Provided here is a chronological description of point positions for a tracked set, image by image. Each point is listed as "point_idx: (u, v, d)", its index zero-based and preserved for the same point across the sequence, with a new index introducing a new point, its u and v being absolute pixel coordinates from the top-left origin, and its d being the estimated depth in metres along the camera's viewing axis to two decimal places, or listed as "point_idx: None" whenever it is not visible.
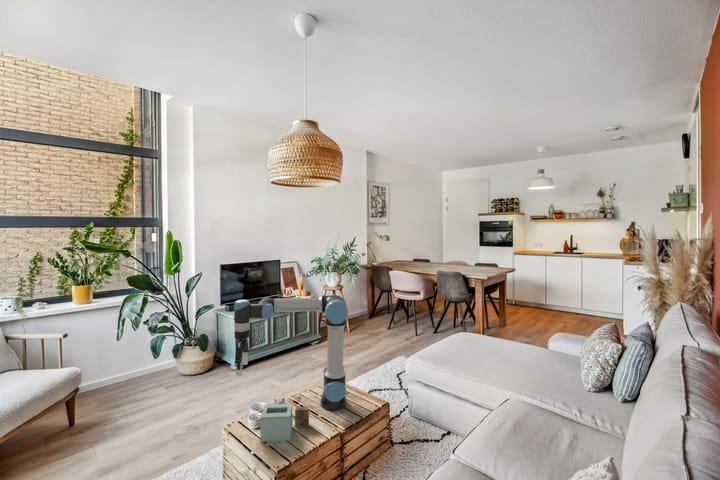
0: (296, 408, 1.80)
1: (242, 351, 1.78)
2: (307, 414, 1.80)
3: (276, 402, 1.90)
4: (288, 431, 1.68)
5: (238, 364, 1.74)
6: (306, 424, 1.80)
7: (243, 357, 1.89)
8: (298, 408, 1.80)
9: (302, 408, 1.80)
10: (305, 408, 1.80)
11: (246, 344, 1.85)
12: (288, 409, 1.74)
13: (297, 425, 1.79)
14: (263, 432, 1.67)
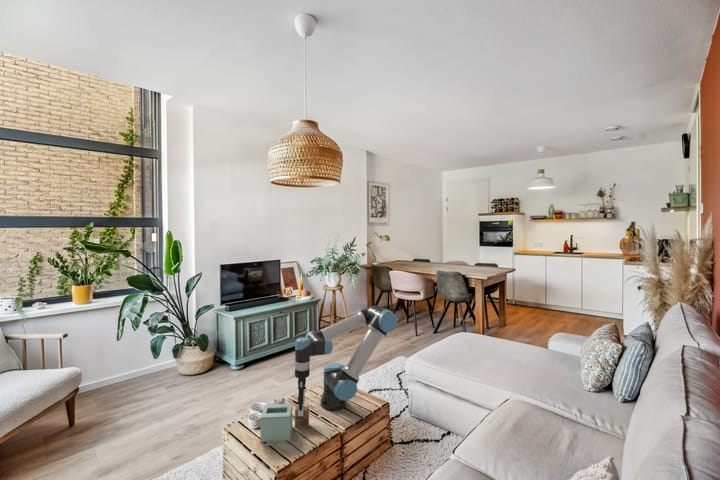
0: (296, 408, 1.80)
1: None
2: (307, 414, 1.80)
3: (276, 402, 1.90)
4: (288, 431, 1.68)
5: (300, 405, 1.72)
6: (306, 424, 1.80)
7: None
8: None
9: None
10: (305, 408, 1.80)
11: None
12: (288, 409, 1.74)
13: (297, 425, 1.79)
14: (263, 432, 1.67)
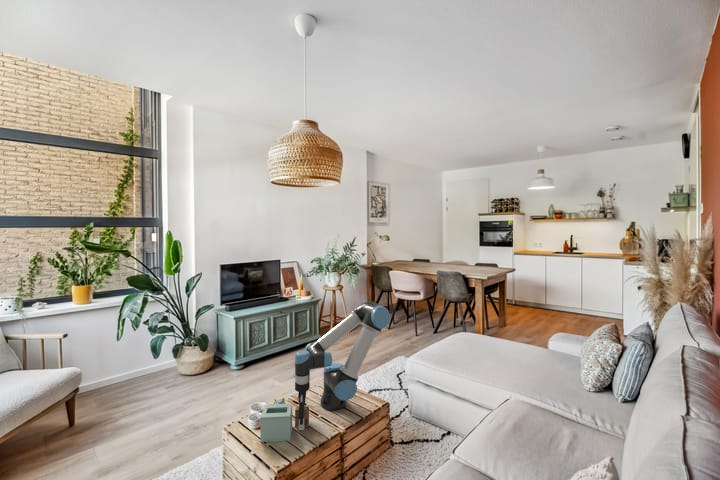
0: (296, 408, 1.80)
1: None
2: (307, 414, 1.80)
3: (276, 402, 1.90)
4: (288, 431, 1.68)
5: (301, 419, 1.74)
6: (306, 424, 1.80)
7: None
8: (298, 408, 1.80)
9: None
10: (305, 408, 1.80)
11: (305, 396, 1.83)
12: (288, 409, 1.74)
13: (297, 425, 1.79)
14: (263, 432, 1.67)
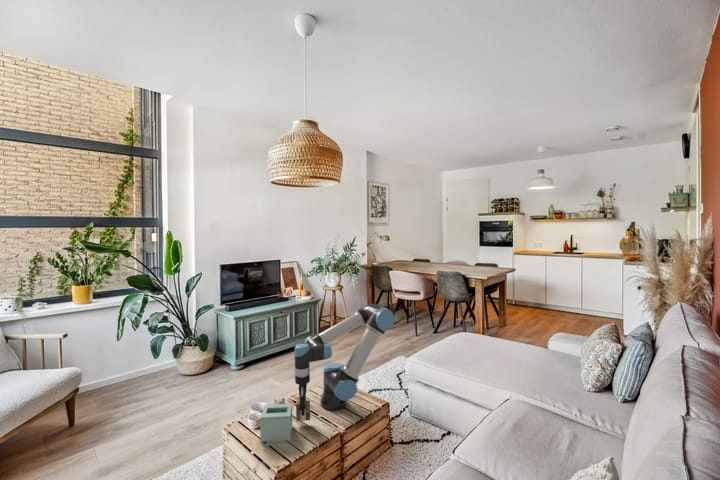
0: (297, 402, 1.80)
1: None
2: (308, 408, 1.80)
3: (276, 402, 1.90)
4: (288, 431, 1.68)
5: (302, 410, 1.77)
6: (307, 418, 1.80)
7: None
8: (299, 402, 1.80)
9: None
10: (306, 402, 1.80)
11: None
12: (288, 409, 1.74)
13: (298, 419, 1.79)
14: (263, 432, 1.67)
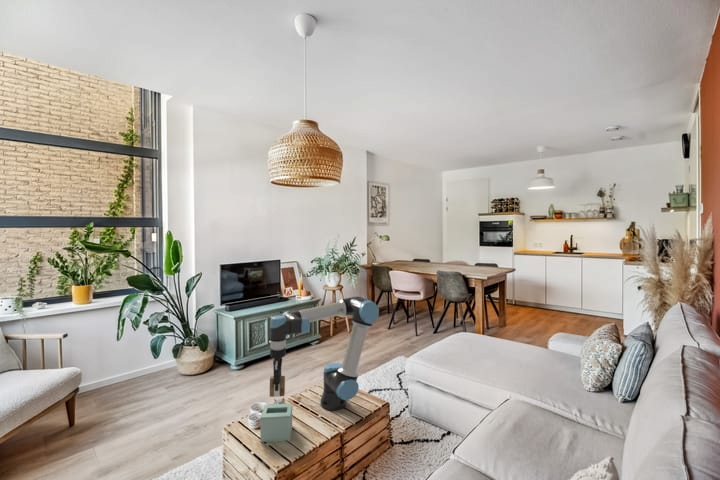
0: (271, 377, 1.72)
1: (279, 371, 1.70)
2: (282, 383, 1.71)
3: (276, 402, 1.90)
4: (288, 431, 1.68)
5: (276, 385, 1.69)
6: (281, 394, 1.71)
7: None
8: (273, 377, 1.72)
9: None
10: (280, 377, 1.72)
11: (281, 365, 1.73)
12: (288, 409, 1.74)
13: (272, 395, 1.71)
14: (263, 432, 1.67)
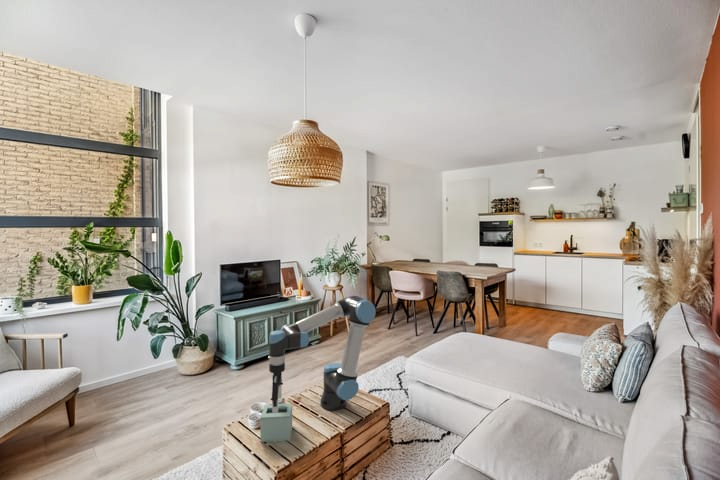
0: None
1: (278, 386, 1.68)
2: None
3: None
4: (288, 431, 1.68)
5: (274, 401, 1.64)
6: None
7: None
8: None
9: (278, 411, 1.76)
10: (281, 411, 1.76)
11: None
12: (288, 409, 1.74)
13: None
14: (263, 432, 1.67)
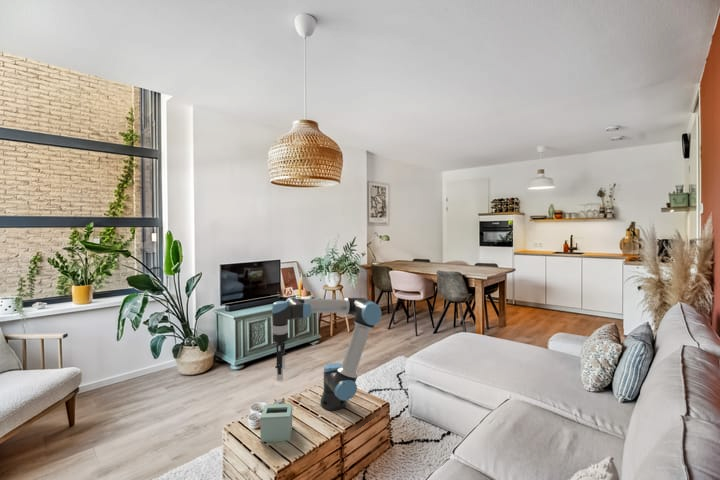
0: (272, 411, 1.76)
1: (282, 355, 1.70)
2: None
3: (276, 402, 1.90)
4: (288, 431, 1.68)
5: (279, 369, 1.66)
6: None
7: None
8: (274, 411, 1.76)
9: (278, 411, 1.76)
10: (281, 411, 1.76)
11: (284, 347, 1.77)
12: (288, 409, 1.74)
13: None
14: (263, 432, 1.67)
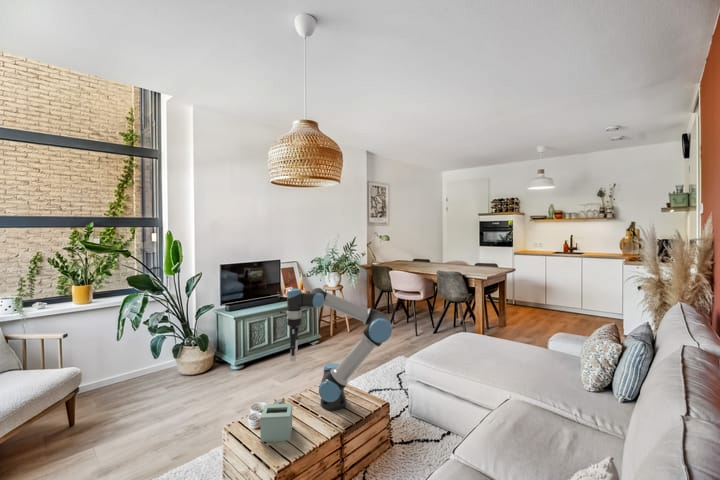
0: (272, 411, 1.76)
1: None
2: None
3: (276, 402, 1.90)
4: (288, 431, 1.68)
5: (293, 350, 1.80)
6: None
7: None
8: (274, 411, 1.76)
9: (278, 411, 1.76)
10: (281, 411, 1.76)
11: (297, 332, 1.91)
12: (288, 409, 1.74)
13: None
14: (263, 432, 1.67)
